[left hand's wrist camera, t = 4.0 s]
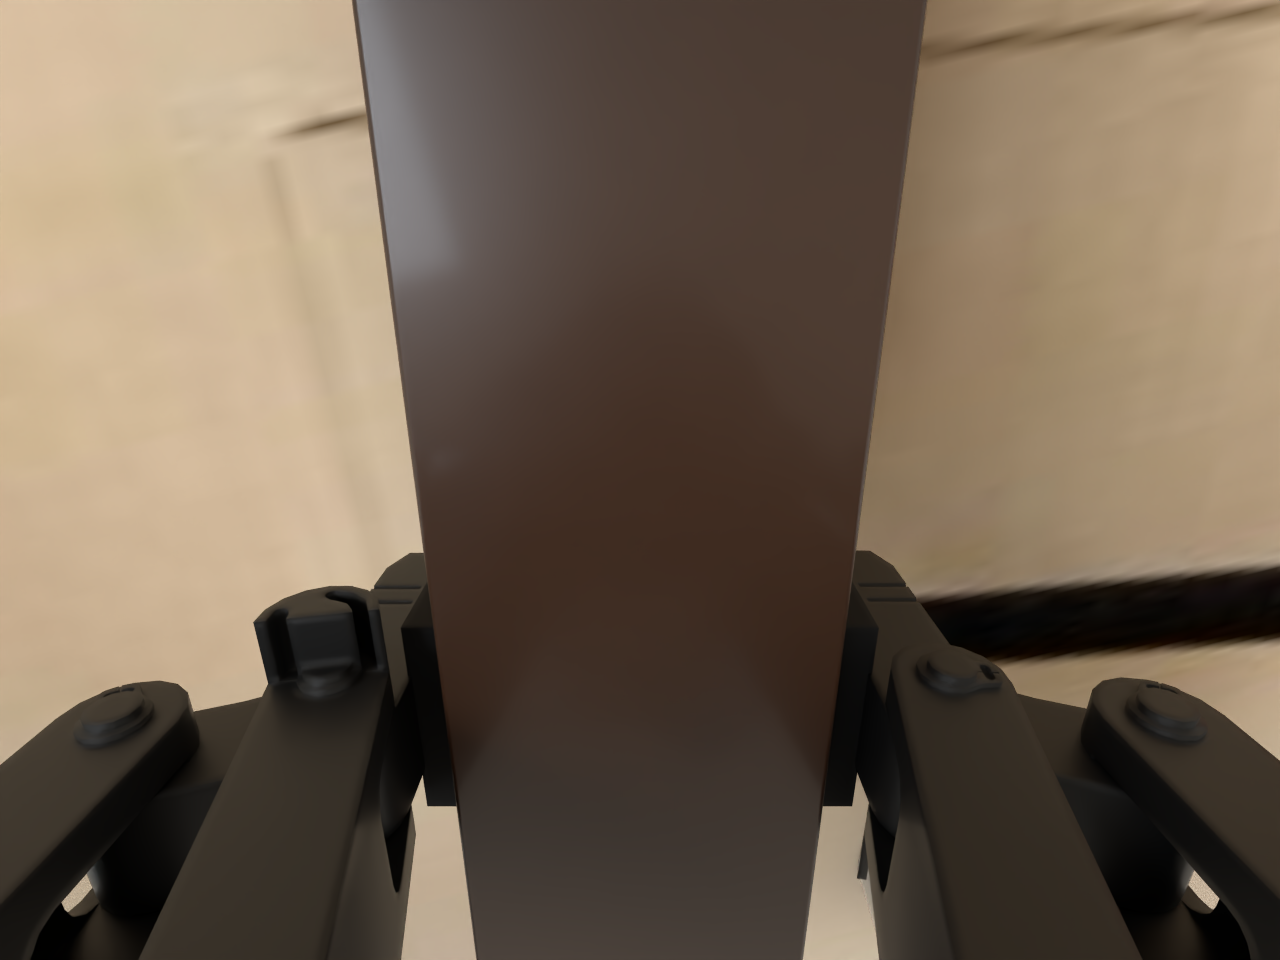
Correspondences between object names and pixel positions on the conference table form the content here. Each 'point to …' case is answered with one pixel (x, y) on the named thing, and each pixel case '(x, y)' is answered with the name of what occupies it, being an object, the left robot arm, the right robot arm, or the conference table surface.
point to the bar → (639, 435)
